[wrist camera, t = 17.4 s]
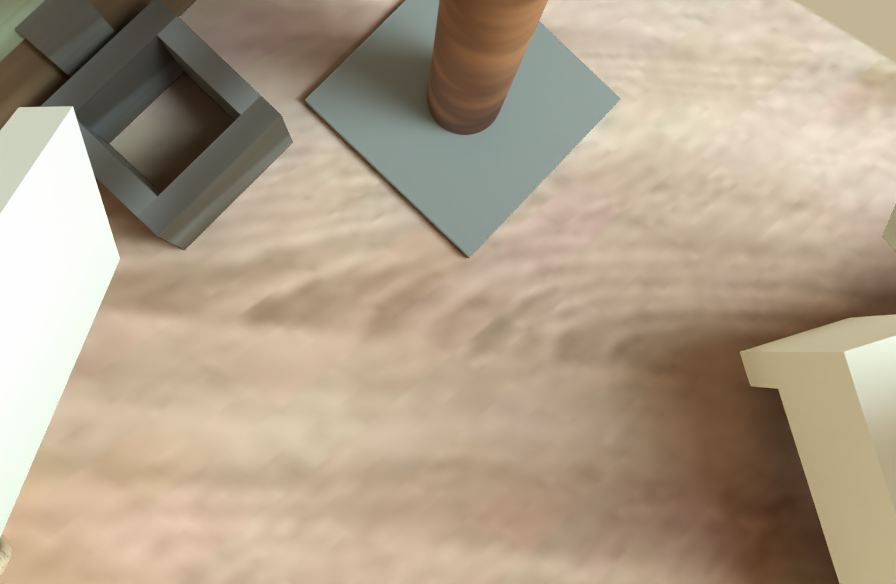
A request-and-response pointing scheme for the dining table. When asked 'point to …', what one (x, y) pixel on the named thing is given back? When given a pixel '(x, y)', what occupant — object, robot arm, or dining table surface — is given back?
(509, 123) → the rubber mat
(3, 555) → the teacup with lid
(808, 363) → the paper towel holder
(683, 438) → the dining table surface
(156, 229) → the toolbox
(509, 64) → the wooden pepper mill
